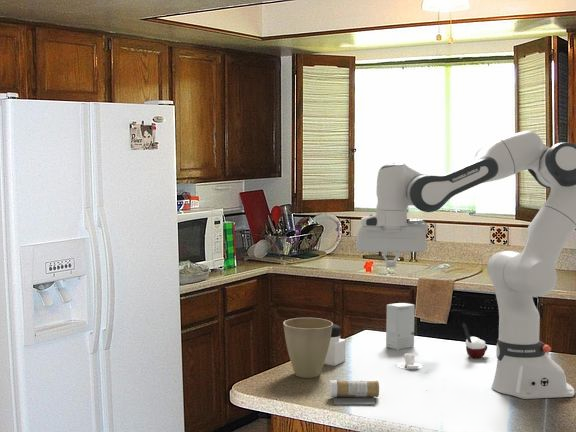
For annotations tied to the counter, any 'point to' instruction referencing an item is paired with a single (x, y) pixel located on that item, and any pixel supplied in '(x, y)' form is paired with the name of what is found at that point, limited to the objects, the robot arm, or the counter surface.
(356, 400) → the mat
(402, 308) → the skincare box
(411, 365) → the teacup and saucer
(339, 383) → the sprinkles bottle
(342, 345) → the medicine bottle
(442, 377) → the counter surface
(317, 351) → the plant pot
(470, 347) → the cocoa
